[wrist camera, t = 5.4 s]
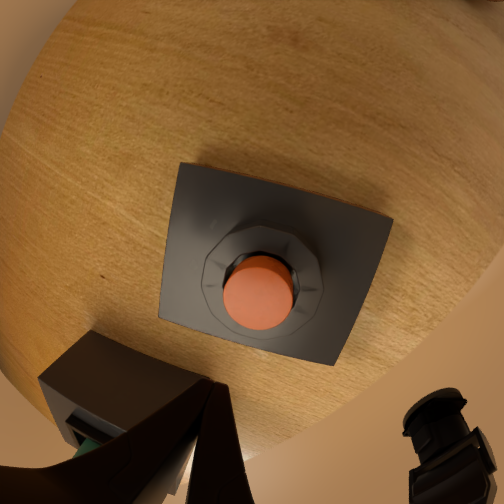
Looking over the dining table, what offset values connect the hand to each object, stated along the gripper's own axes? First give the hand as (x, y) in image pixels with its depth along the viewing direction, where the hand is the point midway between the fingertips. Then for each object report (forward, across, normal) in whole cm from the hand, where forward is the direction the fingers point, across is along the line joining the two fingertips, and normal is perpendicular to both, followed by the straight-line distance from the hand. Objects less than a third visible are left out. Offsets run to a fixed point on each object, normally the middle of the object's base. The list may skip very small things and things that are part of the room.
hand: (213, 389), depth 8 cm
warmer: (+11, +7, +15) cm, 20 cm away
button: (+7, 0, -1) cm, 7 cm away
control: (+11, 0, -1) cm, 11 cm away
